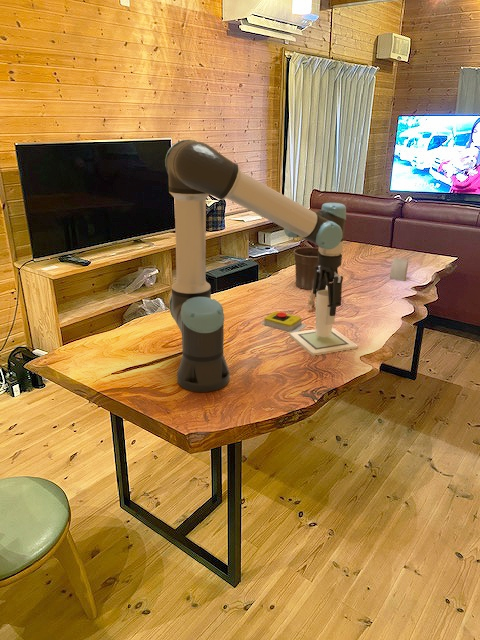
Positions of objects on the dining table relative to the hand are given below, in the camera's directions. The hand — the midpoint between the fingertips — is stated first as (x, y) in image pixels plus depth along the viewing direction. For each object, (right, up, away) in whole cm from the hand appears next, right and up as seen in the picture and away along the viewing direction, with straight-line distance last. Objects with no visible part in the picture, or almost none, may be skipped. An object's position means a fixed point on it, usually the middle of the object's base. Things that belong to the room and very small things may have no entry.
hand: (324, 319), depth 164 cm
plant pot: (+3, +15, +59) cm, 61 cm away
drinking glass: (0, -5, +2) cm, 6 cm away
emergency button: (-12, -2, +17) cm, 21 cm away
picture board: (0, -8, +3) cm, 8 cm away
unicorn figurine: (+3, +6, +37) cm, 38 cm away
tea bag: (+48, +20, +71) cm, 88 cm away
